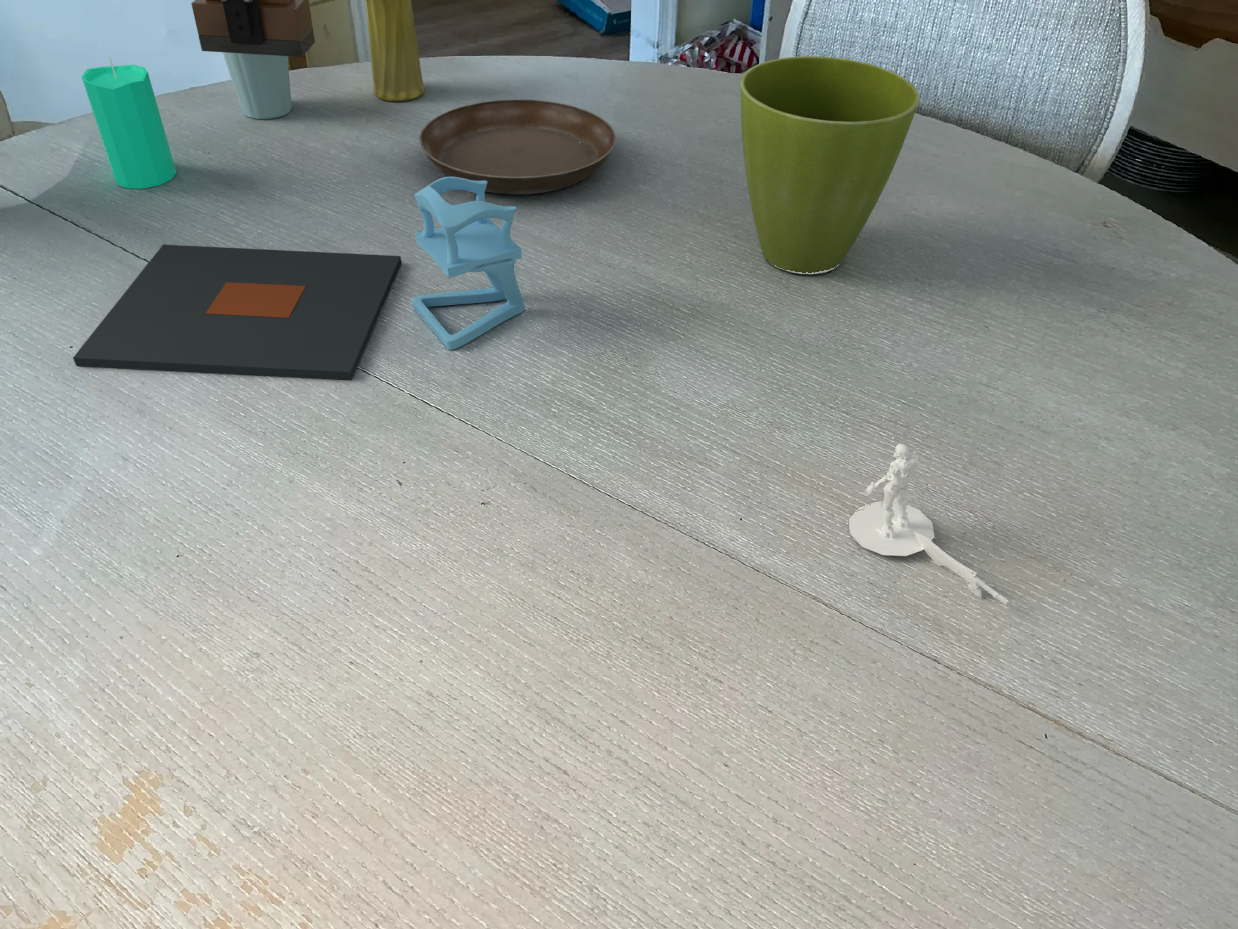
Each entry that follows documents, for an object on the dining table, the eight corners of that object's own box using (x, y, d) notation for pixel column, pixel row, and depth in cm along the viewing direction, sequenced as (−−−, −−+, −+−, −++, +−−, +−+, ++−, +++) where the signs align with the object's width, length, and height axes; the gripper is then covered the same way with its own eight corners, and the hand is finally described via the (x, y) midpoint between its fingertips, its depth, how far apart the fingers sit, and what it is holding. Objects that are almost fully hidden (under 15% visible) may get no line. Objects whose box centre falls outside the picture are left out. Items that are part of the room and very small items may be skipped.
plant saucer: (487, 111, 119) (486, 82, 117) (646, 147, 113) (647, 118, 111) (383, 180, 105) (379, 149, 103) (557, 225, 99) (557, 194, 96)
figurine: (885, 502, 71) (896, 408, 67) (1033, 592, 64) (1058, 493, 59) (829, 537, 69) (836, 442, 64) (976, 636, 61) (997, 536, 56)
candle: (102, 184, 103) (62, 65, 95) (136, 159, 107) (101, 44, 99) (155, 192, 102) (118, 72, 94) (187, 166, 106) (155, 50, 98)
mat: (75, 365, 80) (72, 357, 79) (165, 251, 93) (162, 243, 93) (352, 380, 79) (350, 371, 79) (401, 263, 93) (400, 255, 92)
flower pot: (744, 206, 103) (763, 45, 92) (892, 233, 99) (929, 69, 88) (704, 278, 92) (720, 104, 81) (868, 311, 88) (907, 134, 78)
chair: (538, 323, 86) (534, 192, 78) (448, 351, 82) (434, 217, 74) (497, 282, 91) (489, 154, 83) (411, 306, 87) (394, 176, 79)
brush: (201, 51, 99) (185, -20, 95) (217, 36, 103) (202, -33, 98) (302, 57, 99) (291, -14, 95) (315, 42, 102) (304, -27, 98)
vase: (363, 91, 123) (345, -35, 113) (405, 79, 126) (391, -45, 117) (393, 106, 120) (376, -23, 110) (435, 93, 123) (422, -33, 114)
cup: (220, 109, 118) (197, 15, 111) (278, 92, 122) (260, 1, 115) (254, 129, 114) (234, 33, 107) (313, 110, 118) (297, 18, 111)
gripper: (208, -200, 95) (247, 5, 106) (133, -168, 82) (187, 62, 94) (288, -196, 94) (318, 9, 106) (225, -162, 82) (267, 67, 94)
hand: (256, 32), depth 100 cm, fingers closed on brush, 4 cm apart
